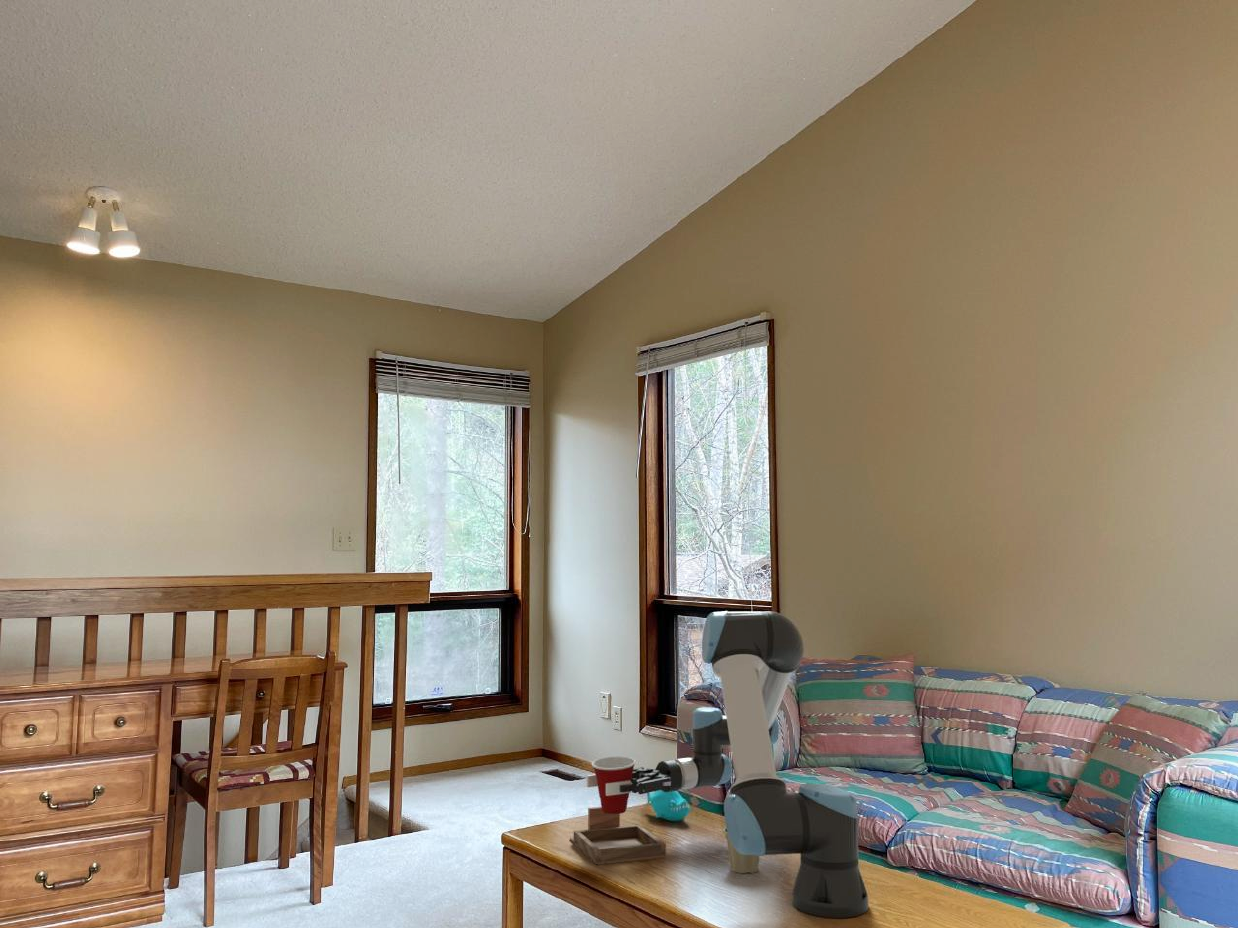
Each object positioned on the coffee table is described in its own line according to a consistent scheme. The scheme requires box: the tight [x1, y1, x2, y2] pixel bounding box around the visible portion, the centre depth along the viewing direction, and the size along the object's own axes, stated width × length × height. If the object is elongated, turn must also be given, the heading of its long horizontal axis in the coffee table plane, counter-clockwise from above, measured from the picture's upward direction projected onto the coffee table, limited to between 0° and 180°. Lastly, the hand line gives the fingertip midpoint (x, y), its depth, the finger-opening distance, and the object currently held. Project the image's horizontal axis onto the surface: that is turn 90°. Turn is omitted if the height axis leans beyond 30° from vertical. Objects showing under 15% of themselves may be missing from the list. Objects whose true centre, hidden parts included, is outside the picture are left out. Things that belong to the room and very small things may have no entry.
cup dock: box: [569, 806, 667, 865], centre depth 234 cm, size 21×17×8 cm
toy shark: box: [646, 790, 691, 822], centre depth 261 cm, size 10×18×11 cm, turn 37°
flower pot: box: [722, 826, 761, 874], centre depth 218 cm, size 9×9×9 cm
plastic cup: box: [591, 755, 637, 814], centre depth 233 cm, size 11×11×12 cm
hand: (596, 785), depth 230 cm, fingers closed on plastic cup, 9 cm apart
